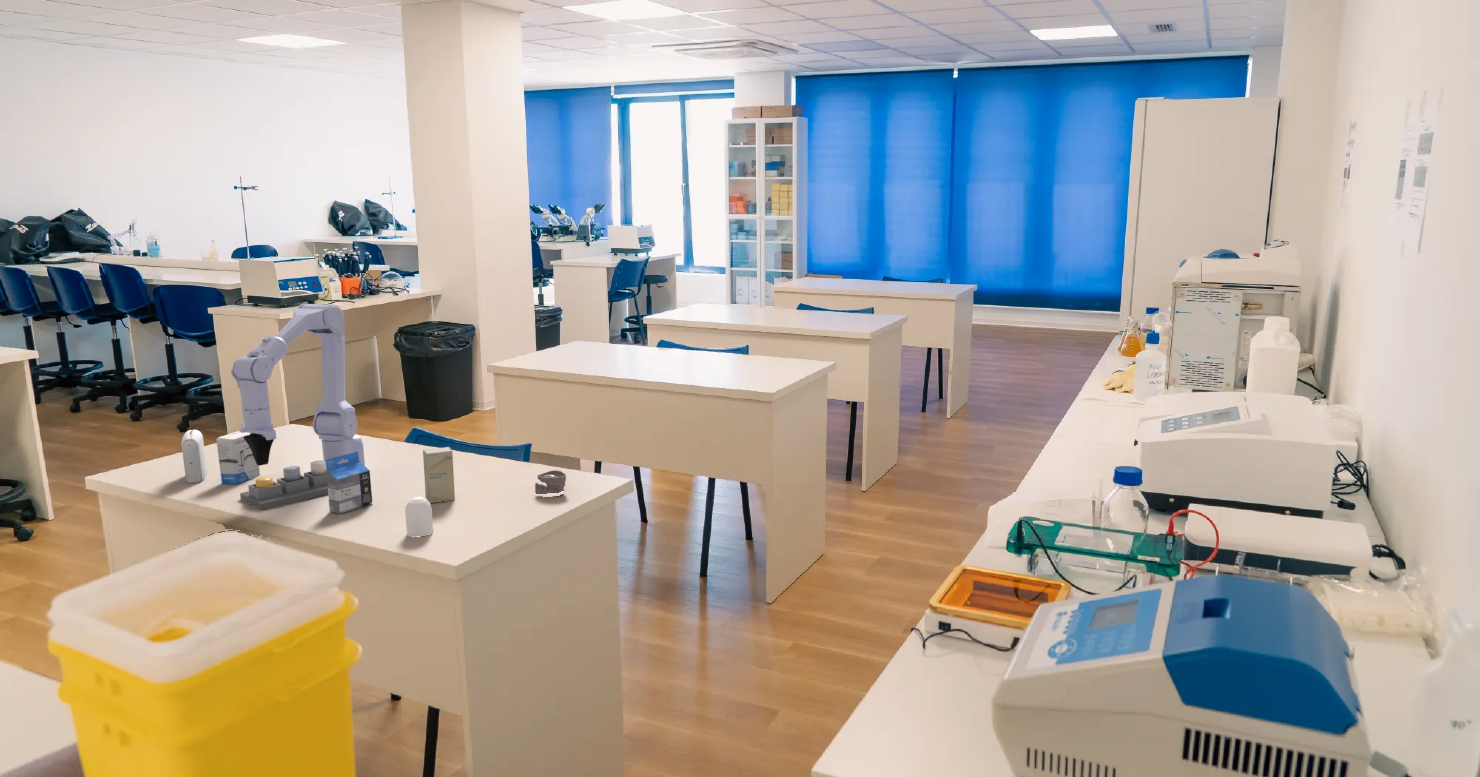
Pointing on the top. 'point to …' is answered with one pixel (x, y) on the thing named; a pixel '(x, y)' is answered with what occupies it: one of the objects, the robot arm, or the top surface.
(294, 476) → the slate button
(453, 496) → the skincare box
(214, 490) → the top surface
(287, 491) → the panel
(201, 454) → the photo printer
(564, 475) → the dental mold
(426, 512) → the white rounded cylinder
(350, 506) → the label tape cartridge
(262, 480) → the amber button
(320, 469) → the ivory button
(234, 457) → the ink box
